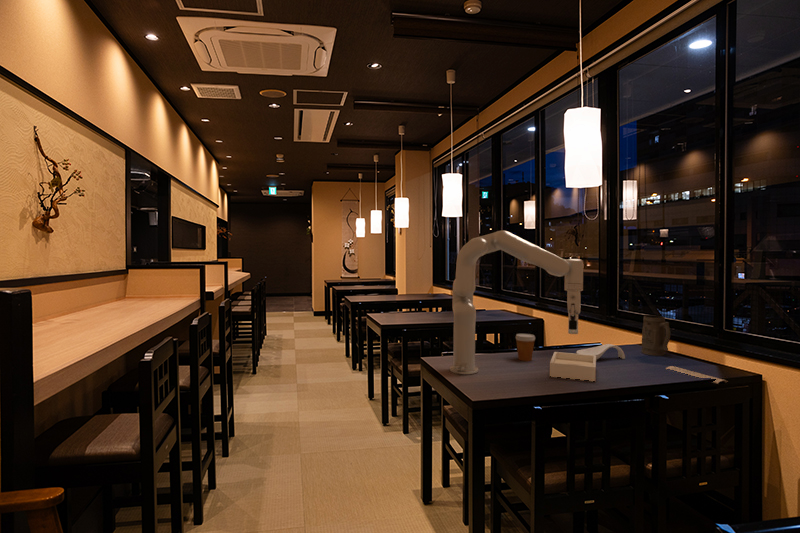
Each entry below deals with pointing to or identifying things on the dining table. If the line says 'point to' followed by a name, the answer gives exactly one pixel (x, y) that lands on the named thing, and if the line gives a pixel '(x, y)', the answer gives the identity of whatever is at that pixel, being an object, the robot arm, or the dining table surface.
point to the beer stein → (655, 335)
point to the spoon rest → (601, 351)
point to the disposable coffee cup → (525, 346)
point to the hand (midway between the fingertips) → (573, 328)
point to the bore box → (573, 366)
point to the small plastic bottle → (577, 325)
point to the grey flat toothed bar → (695, 374)
